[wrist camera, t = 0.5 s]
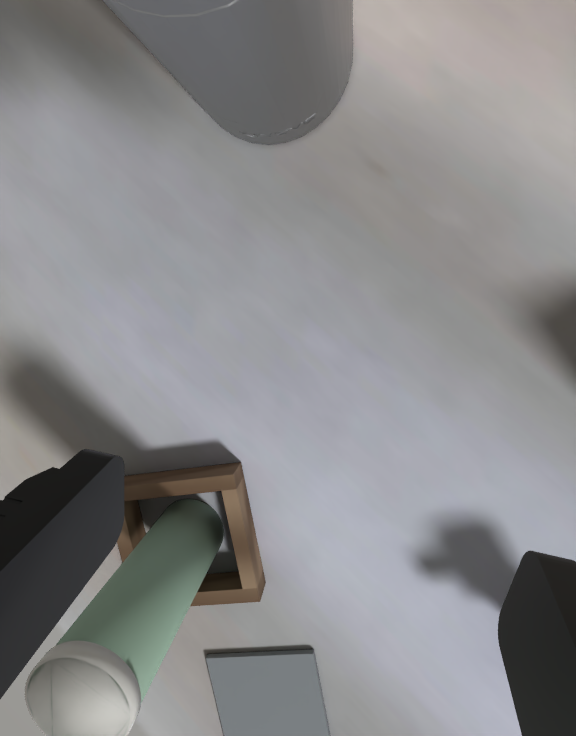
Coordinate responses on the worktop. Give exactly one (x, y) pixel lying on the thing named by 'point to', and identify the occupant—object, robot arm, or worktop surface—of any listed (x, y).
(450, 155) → the worktop surface
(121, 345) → the worktop surface
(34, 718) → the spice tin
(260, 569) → the pocket
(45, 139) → the worktop surface
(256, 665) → the pad
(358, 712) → the worktop surface
